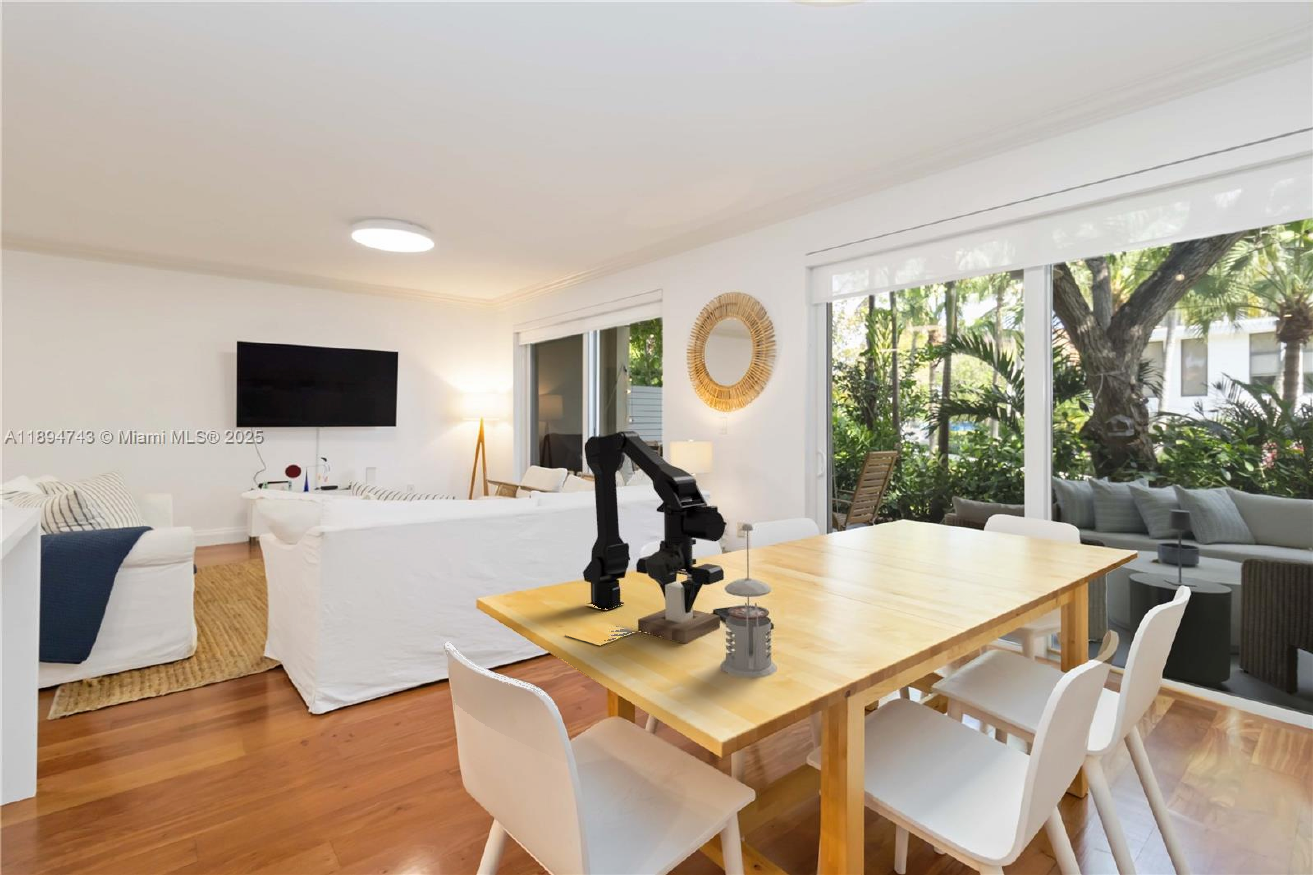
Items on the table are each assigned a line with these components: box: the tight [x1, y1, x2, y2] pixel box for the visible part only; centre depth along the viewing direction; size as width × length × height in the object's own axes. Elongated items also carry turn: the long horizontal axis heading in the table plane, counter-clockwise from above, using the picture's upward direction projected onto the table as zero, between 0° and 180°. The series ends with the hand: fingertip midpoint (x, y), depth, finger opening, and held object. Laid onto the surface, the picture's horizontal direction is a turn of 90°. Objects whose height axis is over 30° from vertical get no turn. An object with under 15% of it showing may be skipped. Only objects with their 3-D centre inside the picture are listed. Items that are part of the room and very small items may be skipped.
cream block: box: [664, 580, 694, 623], centre depth 130 cm, size 4×4×9 cm
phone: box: [712, 606, 775, 631], centre depth 136 cm, size 8×1×15 cm
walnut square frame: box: [637, 608, 721, 645], centre depth 130 cm, size 12×12×2 cm
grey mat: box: [604, 625, 636, 641], centre depth 128 cm, size 10×10×1 cm
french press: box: [720, 523, 778, 679], centre depth 109 cm, size 10×12×25 cm
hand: (679, 610), depth 130 cm, fingers closed on cream block, 4 cm apart
